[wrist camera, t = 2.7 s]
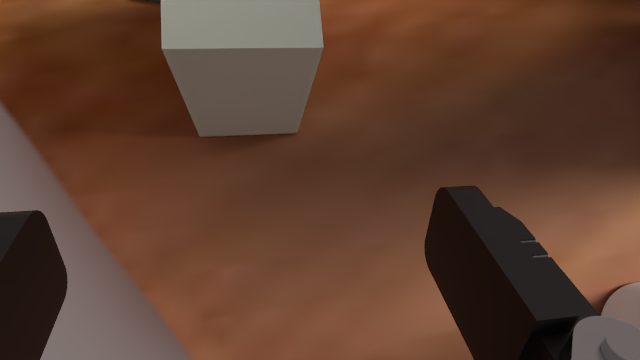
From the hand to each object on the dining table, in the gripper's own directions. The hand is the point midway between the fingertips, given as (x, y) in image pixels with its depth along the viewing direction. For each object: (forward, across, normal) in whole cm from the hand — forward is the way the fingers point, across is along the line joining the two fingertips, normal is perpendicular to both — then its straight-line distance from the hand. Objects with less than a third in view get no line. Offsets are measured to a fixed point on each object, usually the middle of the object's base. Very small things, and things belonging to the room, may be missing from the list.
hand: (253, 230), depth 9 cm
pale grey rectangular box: (+18, 0, +3) cm, 18 cm away
